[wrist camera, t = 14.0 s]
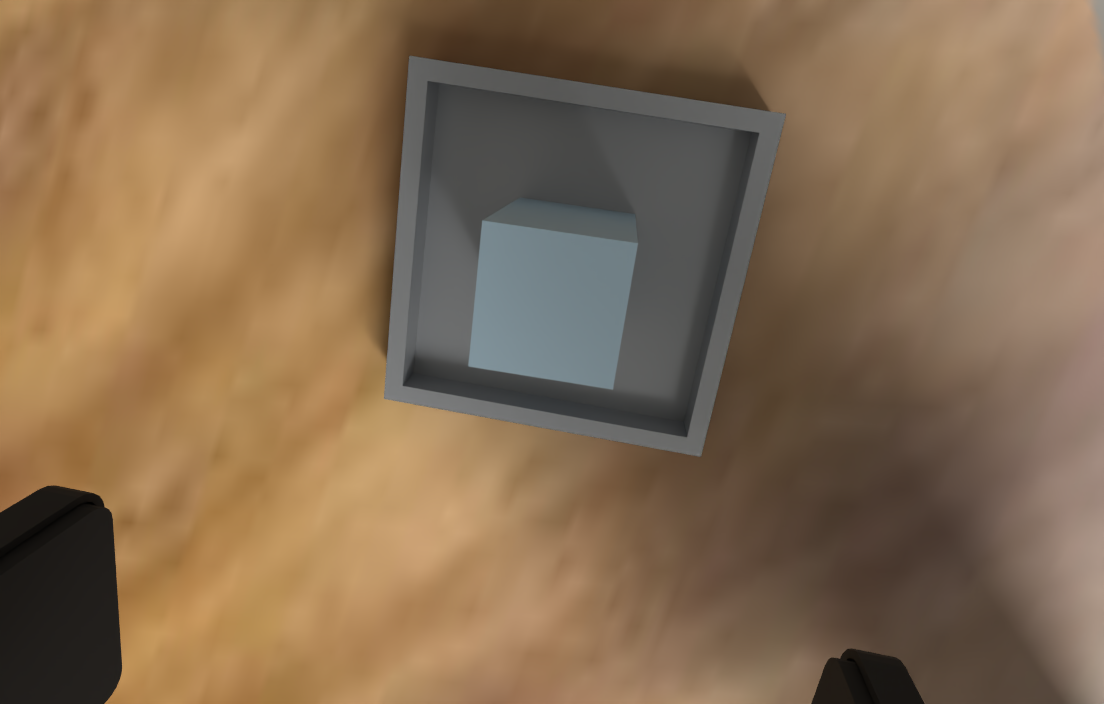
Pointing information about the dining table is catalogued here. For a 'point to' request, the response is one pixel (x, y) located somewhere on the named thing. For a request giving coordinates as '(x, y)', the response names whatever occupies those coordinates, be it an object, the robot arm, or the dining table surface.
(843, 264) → the dining table surface
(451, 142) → the tray
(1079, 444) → the dining table surface
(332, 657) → the dining table surface
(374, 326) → the dining table surface
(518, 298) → the slate block
